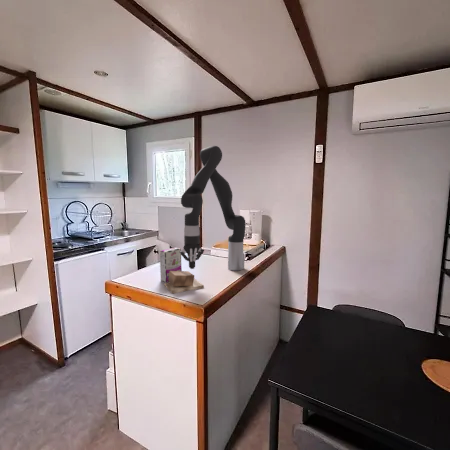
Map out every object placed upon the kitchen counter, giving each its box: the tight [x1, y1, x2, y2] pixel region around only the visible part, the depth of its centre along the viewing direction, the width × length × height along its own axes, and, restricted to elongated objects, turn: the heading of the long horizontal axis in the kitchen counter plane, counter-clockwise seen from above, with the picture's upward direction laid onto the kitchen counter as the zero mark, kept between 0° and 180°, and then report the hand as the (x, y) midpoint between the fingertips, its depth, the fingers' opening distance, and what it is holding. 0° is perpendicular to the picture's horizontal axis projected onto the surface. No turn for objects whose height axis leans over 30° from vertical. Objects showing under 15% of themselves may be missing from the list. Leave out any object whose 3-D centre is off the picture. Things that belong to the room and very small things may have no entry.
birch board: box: [164, 278, 205, 294], centre depth 127 cm, size 16×12×1 cm
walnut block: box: [168, 270, 195, 286], centre depth 126 cm, size 5×8×10 cm
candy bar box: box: [159, 246, 183, 283], centre depth 137 cm, size 11×5×16 cm, turn 143°
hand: (191, 268), depth 128 cm, fingers closed
